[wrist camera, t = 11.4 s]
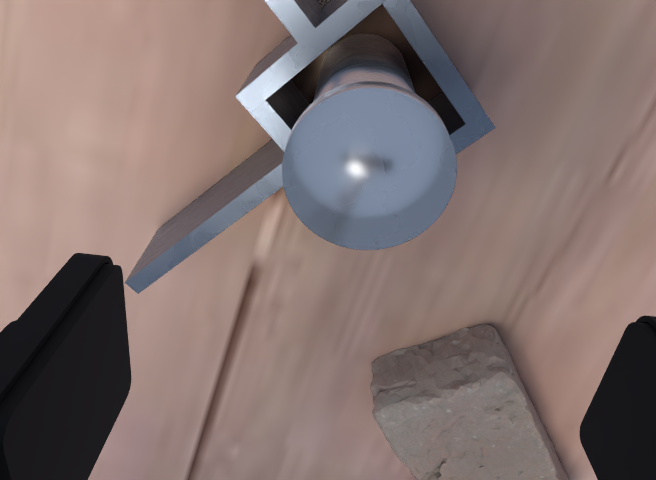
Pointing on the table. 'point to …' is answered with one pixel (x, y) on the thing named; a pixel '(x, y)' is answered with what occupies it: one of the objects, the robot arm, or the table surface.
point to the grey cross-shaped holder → (284, 110)
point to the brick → (461, 411)
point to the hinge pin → (368, 151)
